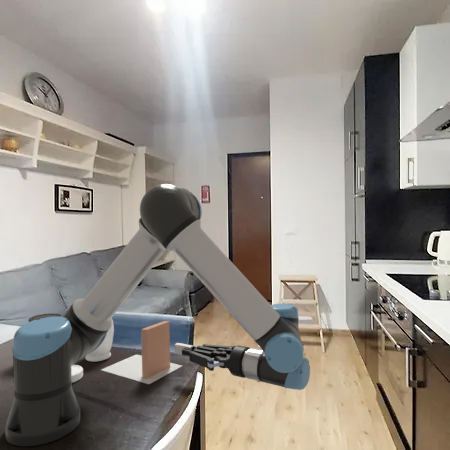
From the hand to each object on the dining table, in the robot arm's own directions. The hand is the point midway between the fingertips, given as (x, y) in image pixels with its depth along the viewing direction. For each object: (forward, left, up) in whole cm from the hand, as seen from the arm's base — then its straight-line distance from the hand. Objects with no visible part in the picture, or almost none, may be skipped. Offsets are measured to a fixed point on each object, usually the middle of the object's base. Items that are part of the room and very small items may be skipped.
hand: (176, 348), depth 106 cm
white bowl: (+10, +31, -10) cm, 34 cm away
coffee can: (+33, +39, -10) cm, 52 cm away
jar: (+27, +22, -10) cm, 36 cm away
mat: (+10, +9, -9) cm, 17 cm away
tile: (+6, +5, -8) cm, 11 cm away
